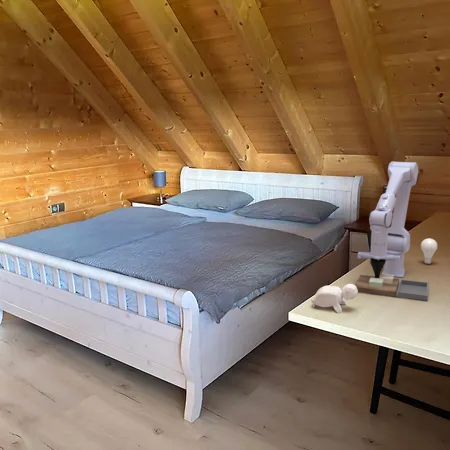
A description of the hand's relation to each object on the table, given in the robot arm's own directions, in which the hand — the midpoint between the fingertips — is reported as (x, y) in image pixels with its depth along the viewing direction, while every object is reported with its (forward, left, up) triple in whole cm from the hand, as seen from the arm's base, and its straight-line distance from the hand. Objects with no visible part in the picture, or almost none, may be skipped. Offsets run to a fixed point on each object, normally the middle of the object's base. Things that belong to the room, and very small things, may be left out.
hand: (377, 278), depth 176 cm
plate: (+3, 0, -3) cm, 4 cm away
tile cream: (0, +3, -1) cm, 3 cm away
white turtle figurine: (+26, -10, -3) cm, 28 cm away
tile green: (+6, 0, -1) cm, 6 cm away
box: (+3, +13, -3) cm, 13 cm away
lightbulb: (-34, +16, -3) cm, 38 cm away
